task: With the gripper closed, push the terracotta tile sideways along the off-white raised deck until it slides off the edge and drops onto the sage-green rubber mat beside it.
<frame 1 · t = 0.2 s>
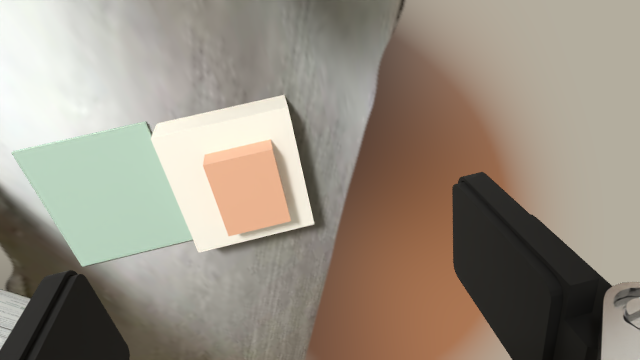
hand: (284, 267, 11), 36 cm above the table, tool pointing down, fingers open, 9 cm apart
mat: (112, 198, 48), on the table
syrup box: (11, 307, 54), on the table
tile: (248, 183, 46), point 4 cm above the table, touching deck
deck: (239, 168, 49), on the table
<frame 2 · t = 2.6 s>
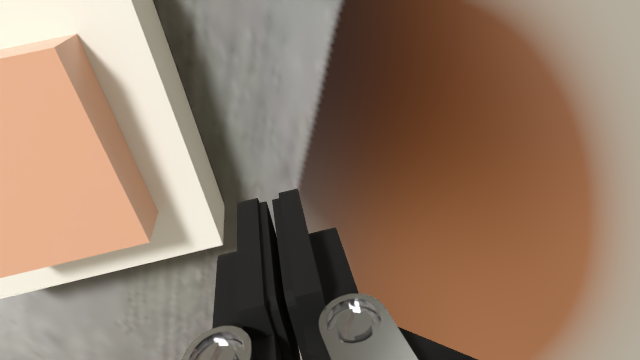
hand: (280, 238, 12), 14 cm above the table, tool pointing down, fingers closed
tile: (45, 150, 19), point 4 cm above the table, touching deck
deck: (55, 122, 22), on the table
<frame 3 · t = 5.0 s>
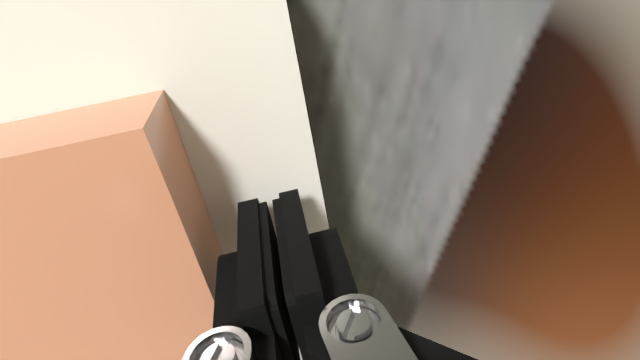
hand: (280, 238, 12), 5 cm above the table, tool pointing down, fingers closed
tile: (96, 266, 12), point 4 cm above the table, touching deck, gripper
deck: (121, 195, 15), on the table
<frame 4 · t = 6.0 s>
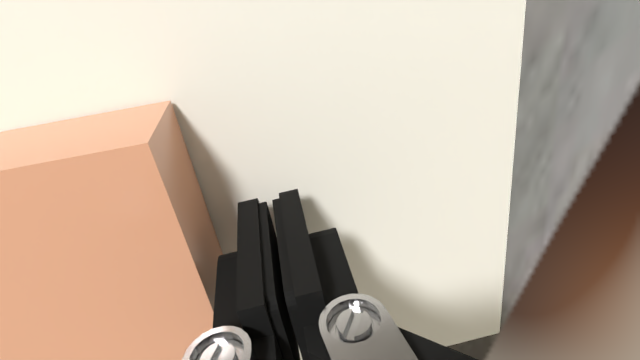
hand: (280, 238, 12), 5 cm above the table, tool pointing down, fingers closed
tile: (99, 271, 12), point 4 cm above the table, touching deck, gripper
deck: (277, 160, 16), on the table
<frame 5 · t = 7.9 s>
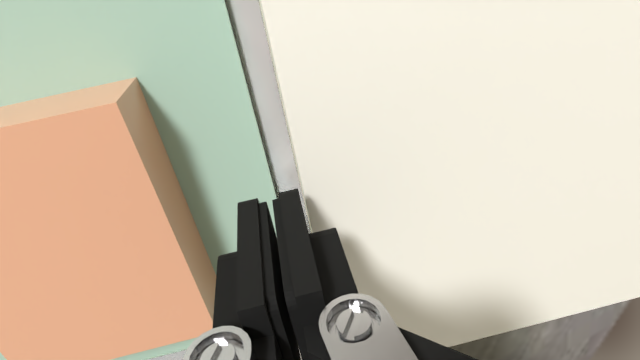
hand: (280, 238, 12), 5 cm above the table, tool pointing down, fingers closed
mat: (80, 207, 15), on the table
tile: (63, 263, 13), point 3 cm above the table, tilted 180°, touching mat
deck: (470, 118, 16), on the table
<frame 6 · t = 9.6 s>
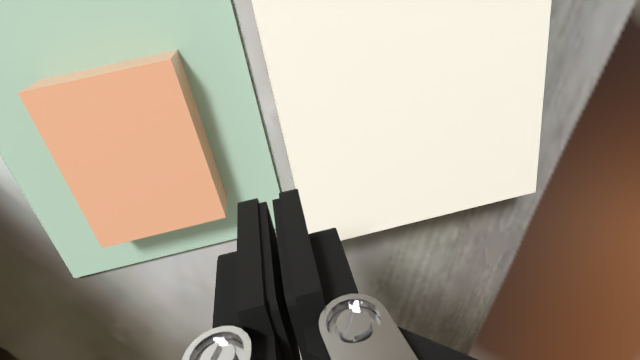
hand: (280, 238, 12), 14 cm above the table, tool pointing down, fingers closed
mat: (137, 136, 24), on the table
tile: (133, 161, 21), point 3 cm above the table, tilted 180°, touching mat
deck: (391, 79, 25), on the table
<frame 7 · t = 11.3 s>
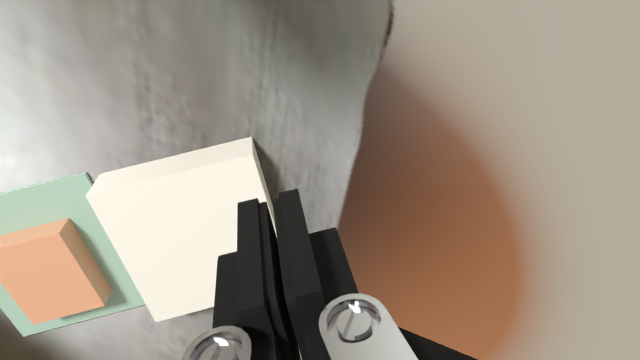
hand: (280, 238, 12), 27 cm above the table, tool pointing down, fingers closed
mat: (53, 259, 41), on the table
tile: (45, 281, 39), point 3 cm above the table, tilted 180°, touching mat
deck: (203, 221, 42), on the table
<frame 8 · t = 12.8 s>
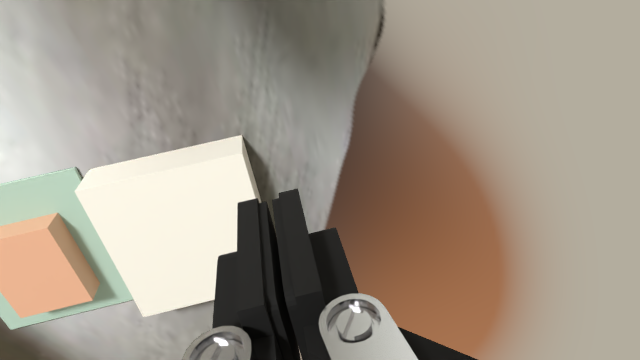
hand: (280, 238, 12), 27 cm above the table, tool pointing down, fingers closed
mat: (41, 253, 41), on the table
tile: (33, 275, 39), point 3 cm above the table, tilted 180°, touching mat
deck: (192, 218, 42), on the table
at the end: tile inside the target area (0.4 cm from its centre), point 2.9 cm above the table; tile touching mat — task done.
